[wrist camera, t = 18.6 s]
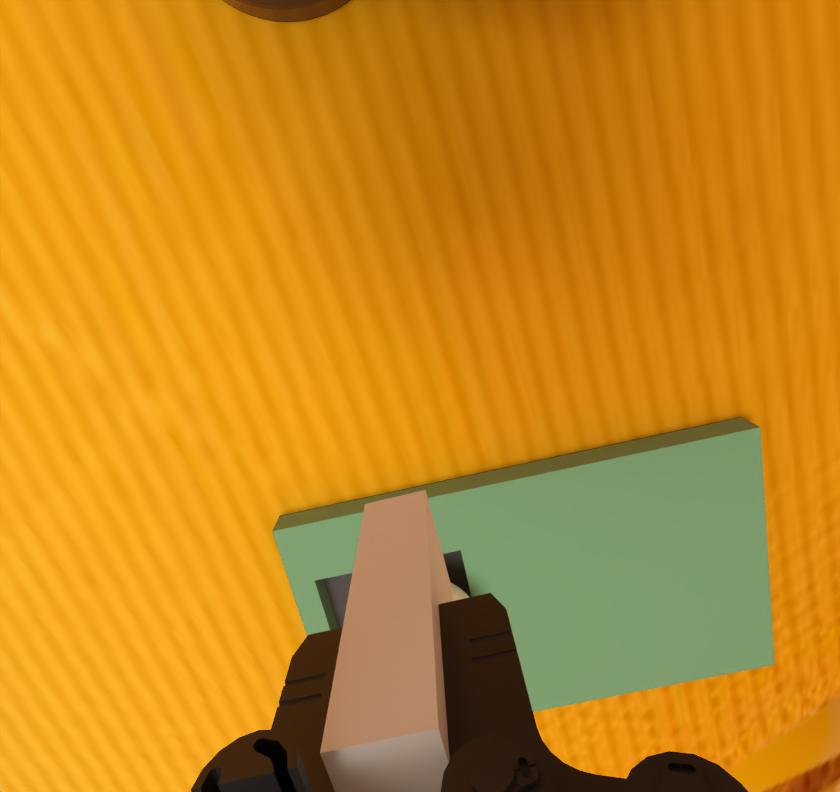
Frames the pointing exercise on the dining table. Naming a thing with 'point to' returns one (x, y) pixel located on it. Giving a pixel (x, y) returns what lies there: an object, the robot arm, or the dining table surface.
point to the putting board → (589, 560)
